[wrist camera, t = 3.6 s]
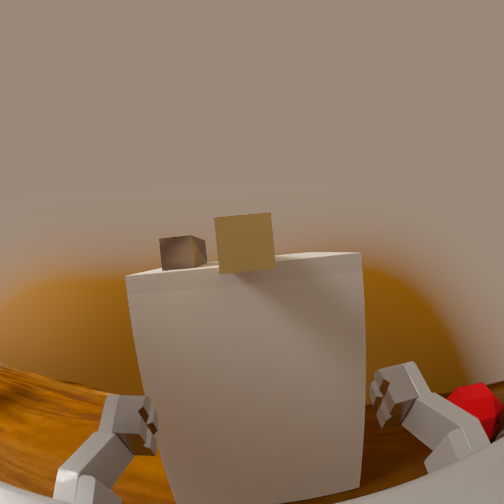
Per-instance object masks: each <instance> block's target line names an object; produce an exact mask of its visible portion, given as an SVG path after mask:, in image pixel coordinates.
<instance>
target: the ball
mask: <svg viewBox="0 0 504 504" xmlns="http://www.w3.org/2000/svg"><path fill="white" fill-rule="evenodd" d="M446 400H448V401H450V402H451V403H453V404H455V405H456V406H458V407H460V408H461V409H463V410H465V411H466V412H468V413H469V414H471V415H473V416H474V417H476V418H478V420H479V421H480V423H481V425H482V427H483V429H484V431H485V433H486V435H487V437H488V439H489V441H490V439H491V438H492V437H493V435H494V434H495V432H496V431H497V430H498V428H499V425H498V423H499V422H500V419H501V415H502V411H503V405H502V403H501V402H500V401H499V400H498V398H497V397H496V396H495V395H494V394H493V392H492V391H491V390H490V389H489V388H488V387H487V386H486V385H485V384H483V383H478V384H473V385H468V386H462V387H458V388H456V389H455V390H454V391H453V392H452V393H451V394H450V395H449V396H448V397H447V398H446Z"/></svg>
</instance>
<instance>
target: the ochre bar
mask: <svg viewBox="0 0 504 504" xmlns="http://www.w3.org/2000/svg"><path fill="white" fill-rule="evenodd" d="M214 221H215V232H216V243H217V253H218V263H219V273H220V274H229V273H239V272H249V271H259V270H269V269H276V262H275V252H274V243H273V232H272V222H271V213H259V214H248V215H237V216H227V217H217V218H214Z"/></svg>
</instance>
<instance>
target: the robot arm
mask: <svg viewBox="0 0 504 504" xmlns="http://www.w3.org/2000/svg"><path fill="white" fill-rule="evenodd" d="M374 378H375V380H374V381H373V382H372V383H371V385H370V388H369V392H370V393H369V394H370V399H371V403H372V405H373V406H374V407H375V408H377V409H378V412H377V414H376V416H377V418H378V421H379V424H380V426H381V429H384V428H388V427H391V426H395V425H399V424H401V425H402V426H403V427H404V428H406V429H407V430H408V431H409V432H410V433H412V434H413V435H414V436H415V437H416V438H418V439H419V440H420V441H421V442H423V443H424V444H425V445H426V446H427V447H429V448H430V449H431V450H432V451H433V452H432V453H431V454H430V455H429V456H428V457H427V458H426V459H425V461H424V464H425V466H426V469H427V472H428V474H427V475H425V476H422V477H420V478H417V479H415V480H412V481H409V482H406V483H404V484H401V485H398V486H395V487H392V488H389V489H386V490H383V491H380V492H376V493H373V494H369V495H366V496H362V497H359V498H355V499H351V500H347V501H343V502H339V503H334V504H504V437H502V438H500V439H499V440H497V441H495V442H493V443H492V444H491V443H490V441H489V439H488V437H487V435H486V433H485V431H484V429H483V427H482V425H481V423H480V421H479V420H478V418H476V417H474V416H473V415H471V414H469V413H468V412H466V411H465V410H463V409H461V408H460V407H458V406H456V405H455V404H453V403H451V402H450V401H448V400H446V399H445V398H443V397H441V396H440V395H438V394H437V393H431V391H430V389H429V387H428V386H427V384H426V382H425V380H424V378H423V376H422V374H421V373H420V371H419V369H418V367H417V365H416V364H415V363H414V362H413V361H411V362H407V363H404V364H398V365H395V366H391V367H387V368H383V369H379V370H377V371H376V372H375V374H374ZM150 403H151V400H150V399H149V397H148V396H125V395H108V396H107V398H106V400H105V404H104V409H103V413H102V417H101V422H100V427H99V431H98V432H94V433H93V434H92V435H91V436H90V437H89V438H88V439H87V440H86V441H85V442H84V443H83V444H82V445H81V447H80V448H79V449H78V450H77V451H76V452H75V453H74V454H73V455H72V456H71V457H70V458H69V459H68V460H67V461H66V462H65V463H64V464H63V465H62V466H61V467H60V468H59V470H58V474H57V479H56V484H55V489H54V494H53V498H49V497H46V496H42V495H39V494H36V493H33V492H30V491H26V490H23V489H21V488H18V487H15V486H12V485H9V484H7V483H4V482H2V481H0V504H122V499H121V498H120V497H119V496H118V495H117V494H115V493H114V492H113V491H111V490H110V489H111V488H112V487H113V485H114V484H115V483H116V481H117V480H118V478H119V477H120V476H121V474H122V473H123V472H124V470H125V469H126V467H127V466H128V465H129V463H130V462H131V461H132V459H133V458H134V455H141V456H156V445H157V440H156V439H155V437H154V436H153V435H154V434H155V433H156V432H157V431H158V416H157V412H156V410H155V408H154V407H152V406H151V405H150Z"/></svg>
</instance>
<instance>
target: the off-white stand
mask: <svg viewBox="0 0 504 504" xmlns="http://www.w3.org/2000/svg"><path fill="white" fill-rule="evenodd" d="M275 262H276V269H269V270H259V271H249V272H239V273H229V274H220V273H219V263H218V261H216V262H207V263H205V264H203V265H200V266H198V267H195V268H189V269H178V270H168V271H162V268H159V269H155V270H150V271H146V272H141V273H136V274H132V275H127V276H125V278H126V286H127V295H128V303H129V310H130V317H131V323H132V330H133V335H134V341H135V347H136V353H137V358H138V363H139V369H140V373H141V378H142V383H143V388H144V393H145V396H148V397H149V399H150V400H151V403H150V405H151V406H152V407H154V408H155V410H156V412H157V416H158V431H157V432H156V433H155V438H156V440H157V445H158V448H159V452H160V455H161V459H162V462H163V465H164V469H165V472H166V475H167V478H168V481H169V484H170V487H171V490H172V493H173V496H174V499H175V502H176V504H279V503H286V502H293V501H299V500H305V499H311V498H316V497H321V496H326V495H330V494H335V493H339V492H343V491H347V490H351V489H355V488H359V486H360V477H361V466H362V454H363V440H364V421H365V392H366V391H365V390H366V342H365V341H366V340H365V311H364V291H363V275H362V262H361V253H358V252H357V253H355V252H353V253H351V252H346V253H345V252H342V253H341V252H306V253H297V254H288V255H278V256H275Z"/></svg>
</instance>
